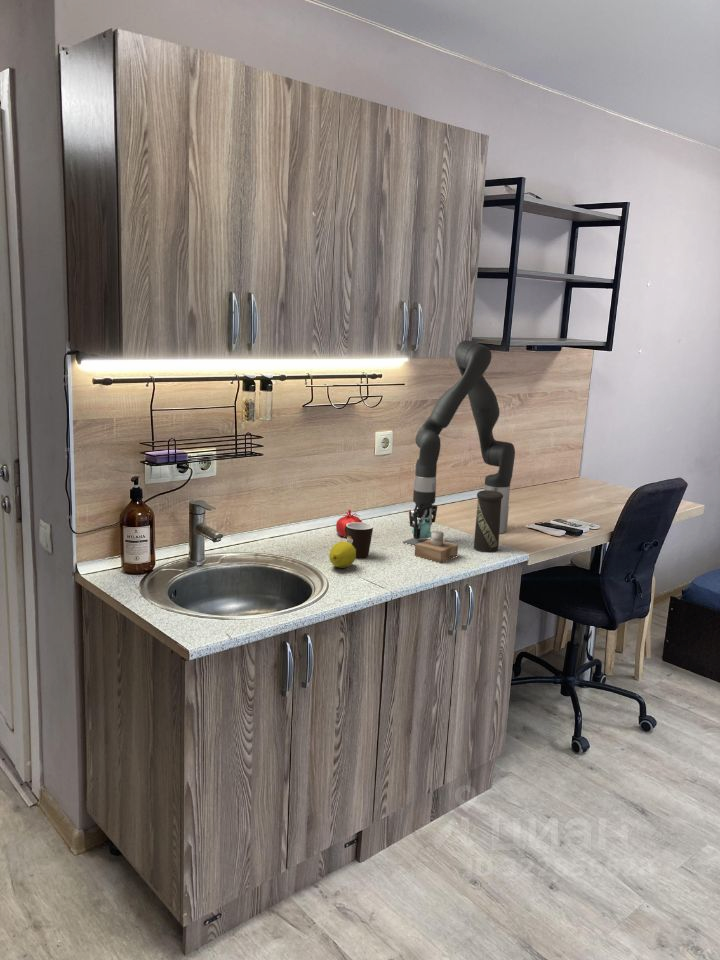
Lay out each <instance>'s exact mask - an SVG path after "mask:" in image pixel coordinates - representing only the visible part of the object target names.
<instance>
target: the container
mask: <svg viewBox="0 0 720 960" xmlns="http://www.w3.org/2000/svg"><path fill="white" fill-rule="evenodd" d="M476 497H477V507H476V517H475V528H474V529H475V531H474V540H473V549H475V551H479V552H483V553H486V552H487V553H493V551H494V552H497V551H498V550H499V545H500V533H499V531H500V513H501V500H502V498H503V495H502V494H501V493H500V492H497V491H490V490H484V489H483V490H480V491H478V492H477V493H476Z"/></svg>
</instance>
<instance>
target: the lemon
mask: <svg viewBox="0 0 720 960" xmlns="http://www.w3.org/2000/svg"><path fill="white" fill-rule="evenodd" d="M328 557H329V561H330V563H331V564H332V565H333V566H334V567H336V568H338V569H339V568H341V569H344V568H348V567H350V566H351V565H352V564H353V563H355V560H356V559H355V558H356V550H355V548H354V546H353V545H352V544H350V543H349V542H347V541H345V540H343V541H339V542H337V543H335V544H333V546H332V547H331V548H330V550H329V553H328Z"/></svg>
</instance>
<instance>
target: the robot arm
mask: <svg viewBox="0 0 720 960" xmlns="http://www.w3.org/2000/svg"><path fill="white" fill-rule="evenodd" d="M492 356H493V354H492V351H491V348H489V347H487V346H486V345H484V344H480V343H478V342H475V341H473V340H462V341H461V342H459V343H458V344H457V346H456V348H455V353H454V358H455V362H456V366H457V368H458V370H459V373H460V376H461V377H460V378H459V379H458V380H457V382H456V383H455V384H453V385H452V386H451V387H450V388H448V390H446V391H444V393H442V395H441V396H440V397H439V398H438V400H437V401H436V404H435V405H434V407H433V409H432V411H431V413H430V415H429V416H428V418H427V419H426V420H425V421H424V423H423V424H422V425H421V427H420V428H419V430H418V431H417V433H416V436H415V444H416V446H417V447H418V448H419V457H418V459H416V463H415V474H414V479H413V480H414V481H413V495H412V501H413V503H415V506H414V508H413V510H412V509H410V510H409V511H408V515H409V527H411V528H414V533H412V534H413V535H412V536H413V538H415V539H420V530H421V529H420V527H421V524H422V523H423V522H424V521H425V522H429V523H431V526H432V525H433V523H435V522H436V518H437V513H438V512H437V511H438V505H436V504H435V502H436V493H437V492H436V491H437V469H438V467H437V464H438V460H439V455H440V451H441V446H442V445H441V443H442V442H441V437H440V436H439V435H440V434H441V432H442V431H443V430H444V429H446V428H447V427H448V426H449V425H450V424H451V421H452V420H453V418H454V416H455V414H456V412H457V410H458V409H459V407H460V406H461V404H462V402H463V401H464V400H465V398H466V397H467V396H468V401H469V404H470V409H471V412H472V416H473V419H474V421H475V425H476V429H477V433H478V434H477V435H478V439H479V445H480V452H481V458H482V460H483V462H484V464H486V465H488V466H491V467H498V471H497V472H496V473H492V474H489V475H487V476H485V479H484V488H483V490H490V491H497V492H500V493H501V494H502V495H503V498H502V500H501V513H500V531H499V534H504V533H506V532H507V530H508V524H509V523H508V520H509V510H510V506H509V505H510V494H511V493H510V491H511V489H510V488H511V482H512V478H513V473H514V464H515V456H516V450H515V449H516V448H515V445H514V444H513V443H512V442H508V441H502V440H501V441H500V440H496V439H495V438H494V434H493V433H494V432H493V429H494V427H495V425H496V424H497V422H498V420H499V417H500V407H499V403H498V399H497V396H496V393H495V392H494V389H493V388H492V387H491V386H490V384H489V382H488V381H487V380H486V378H485V377H484V375H483V374H484V373H485V372H486V370H487V369H488V367H489V366H490V364H491V361H492ZM418 522H419V523H418Z"/></svg>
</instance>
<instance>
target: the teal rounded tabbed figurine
mask: <svg viewBox="0 0 720 960" xmlns="http://www.w3.org/2000/svg"><path fill="white" fill-rule="evenodd" d="M418 523H419V522H418ZM431 527H432V525H431V523H429V522H425V521H424V522H423V523H422V524H421V527H420V529H421V530H420V538H426V539H431V532H432V531H431ZM411 533H412V534H414V528H413V527H411Z"/></svg>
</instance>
